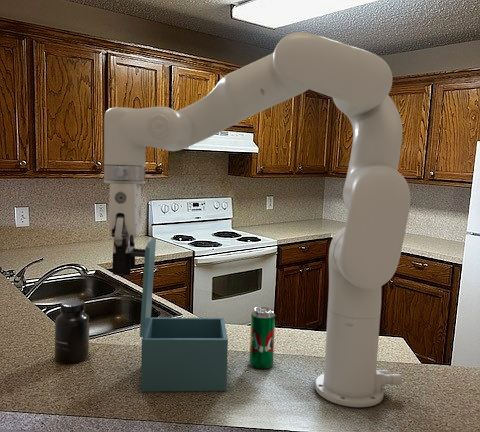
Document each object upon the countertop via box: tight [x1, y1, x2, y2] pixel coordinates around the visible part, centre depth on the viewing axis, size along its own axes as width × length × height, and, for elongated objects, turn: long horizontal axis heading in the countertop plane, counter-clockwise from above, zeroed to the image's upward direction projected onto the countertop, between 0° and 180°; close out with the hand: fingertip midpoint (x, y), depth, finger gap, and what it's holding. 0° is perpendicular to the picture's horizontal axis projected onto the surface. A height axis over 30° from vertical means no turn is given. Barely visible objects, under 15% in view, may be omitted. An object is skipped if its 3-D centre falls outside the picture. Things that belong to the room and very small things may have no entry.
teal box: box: [140, 317, 229, 393], centre depth 89 cm, size 16×13×10 cm
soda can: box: [249, 306, 276, 370], centre depth 95 cm, size 5×5×12 cm
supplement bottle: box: [54, 299, 90, 365], centre depth 95 cm, size 7×7×12 cm
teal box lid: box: [129, 236, 157, 338], centre depth 87 cm, size 16×13×6 cm
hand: (124, 270), depth 86 cm, fingers closed on teal box lid, 5 cm apart
